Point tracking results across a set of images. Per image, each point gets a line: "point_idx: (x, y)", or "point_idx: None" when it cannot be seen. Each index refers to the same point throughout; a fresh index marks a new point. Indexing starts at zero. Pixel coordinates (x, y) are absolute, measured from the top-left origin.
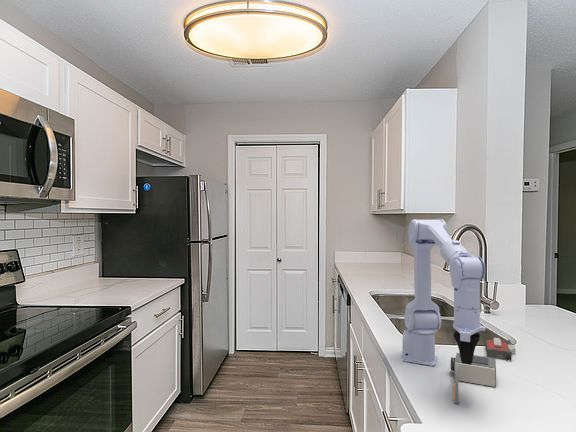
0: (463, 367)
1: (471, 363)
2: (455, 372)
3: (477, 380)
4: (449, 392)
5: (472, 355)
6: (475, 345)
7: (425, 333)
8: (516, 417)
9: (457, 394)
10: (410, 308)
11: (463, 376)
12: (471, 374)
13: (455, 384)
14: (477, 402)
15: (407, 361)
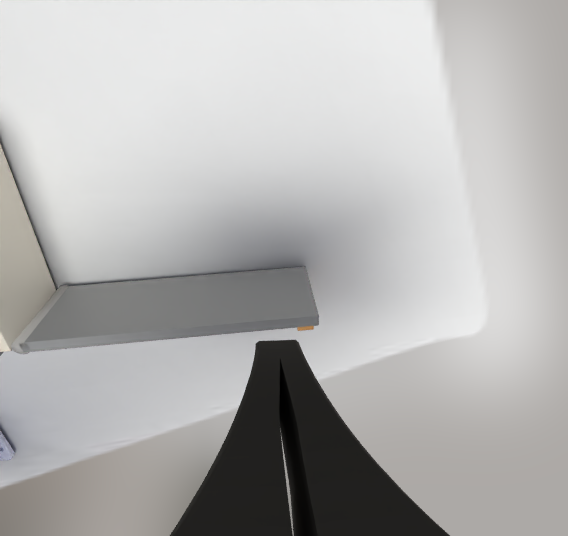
0: (5, 305)
1: (296, 345)
2: (170, 338)
3: (13, 212)
4: None
5: (323, 395)
6: (402, 491)
7: None
8: (331, 22)
9: (311, 289)
10: None
11: (34, 276)
12: (9, 252)
13: (313, 322)
14: (245, 199)
15: (8, 443)
